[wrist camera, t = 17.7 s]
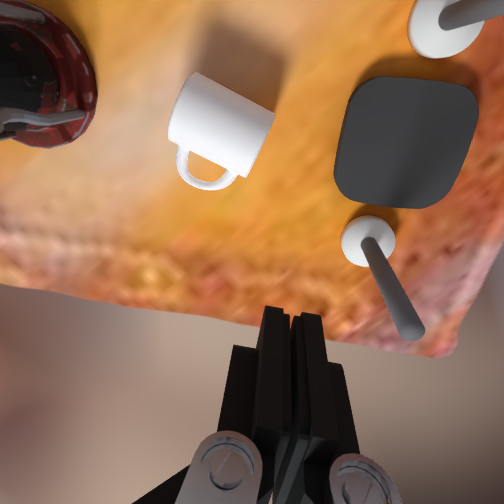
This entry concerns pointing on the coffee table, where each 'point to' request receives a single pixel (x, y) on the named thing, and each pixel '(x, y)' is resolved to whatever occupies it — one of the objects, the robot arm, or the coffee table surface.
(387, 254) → the far cord post
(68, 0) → the coffee table surface
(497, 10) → the post
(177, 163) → the mug
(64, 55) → the hourglass
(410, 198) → the media streaming box
